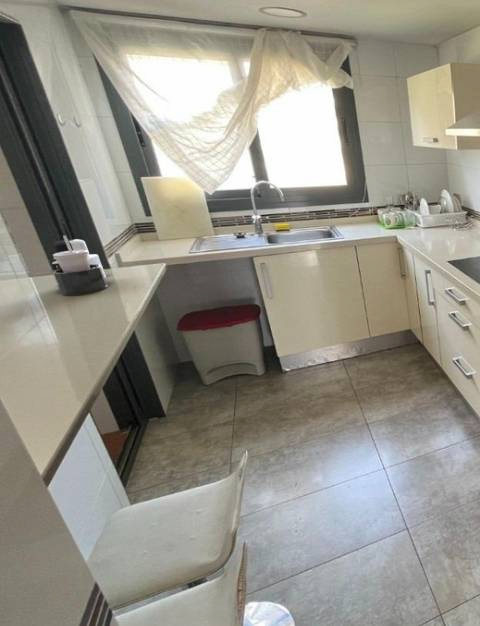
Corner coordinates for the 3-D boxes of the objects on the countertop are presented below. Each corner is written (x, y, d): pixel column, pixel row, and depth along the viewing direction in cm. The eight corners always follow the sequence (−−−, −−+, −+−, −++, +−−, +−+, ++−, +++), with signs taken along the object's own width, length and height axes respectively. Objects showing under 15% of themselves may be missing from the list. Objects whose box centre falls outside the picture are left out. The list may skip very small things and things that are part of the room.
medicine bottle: (61, 288, 123) (43, 244, 118) (74, 281, 129) (57, 239, 124) (96, 285, 125) (79, 241, 121) (107, 278, 131) (91, 236, 127)
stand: (57, 298, 115) (47, 275, 113) (66, 289, 122) (57, 267, 120) (104, 291, 120) (95, 269, 118) (110, 283, 127) (102, 262, 124)
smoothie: (76, 293, 117) (53, 239, 112) (61, 290, 119) (39, 237, 114) (106, 286, 122) (86, 234, 117) (92, 283, 124) (72, 232, 119)
